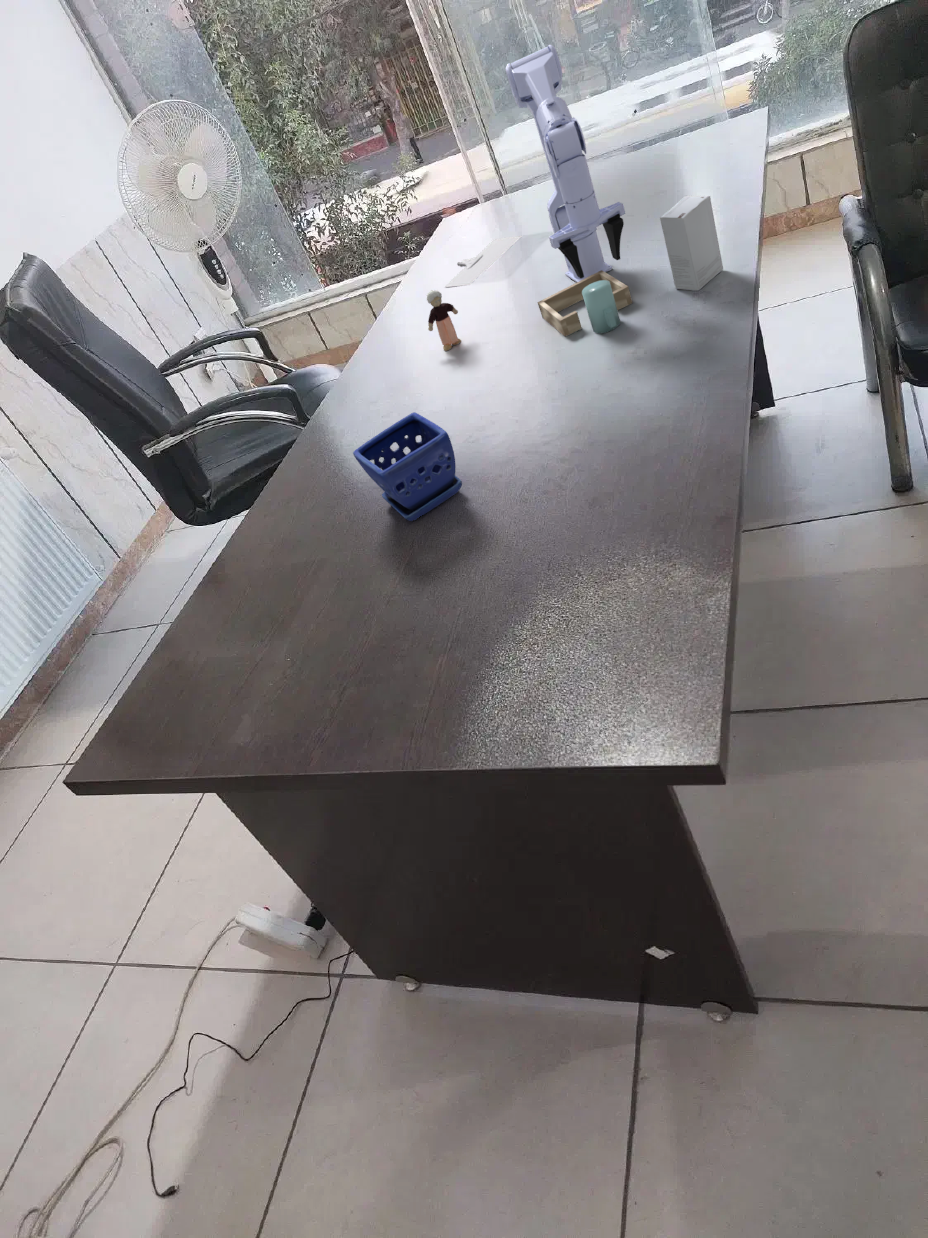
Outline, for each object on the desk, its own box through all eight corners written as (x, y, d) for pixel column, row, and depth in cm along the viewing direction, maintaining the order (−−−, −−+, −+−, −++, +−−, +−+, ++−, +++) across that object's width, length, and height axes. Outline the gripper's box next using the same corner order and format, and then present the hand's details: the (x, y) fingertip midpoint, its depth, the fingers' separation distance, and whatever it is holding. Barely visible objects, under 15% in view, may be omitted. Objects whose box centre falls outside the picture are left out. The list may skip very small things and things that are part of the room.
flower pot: (409, 533, 142) (379, 475, 134) (379, 505, 152) (349, 449, 145) (475, 490, 144) (449, 430, 136) (441, 465, 154) (414, 408, 147)
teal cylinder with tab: (602, 339, 166) (591, 301, 161) (589, 327, 172) (577, 289, 167) (628, 327, 166) (618, 288, 161) (614, 315, 172) (604, 277, 167)
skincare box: (700, 268, 172) (685, 193, 163) (725, 269, 168) (711, 193, 159) (674, 290, 170) (657, 215, 161) (698, 292, 165) (683, 215, 156)
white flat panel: (483, 242, 233) (481, 238, 233) (556, 233, 219) (555, 229, 218) (432, 290, 221) (431, 286, 220) (507, 284, 207) (505, 279, 206)
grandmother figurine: (447, 354, 188) (424, 299, 180) (436, 352, 191) (413, 299, 183) (471, 335, 191) (449, 280, 183) (460, 333, 193) (438, 280, 186)
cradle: (542, 317, 183) (537, 302, 181) (605, 285, 183) (601, 269, 181) (565, 336, 173) (560, 320, 171) (632, 302, 173) (628, 286, 170)
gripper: (550, 218, 154) (572, 290, 162) (624, 181, 153) (641, 255, 162) (537, 211, 159) (559, 280, 168) (608, 175, 159) (626, 246, 167)
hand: (598, 267), depth 165 cm, fingers open, 7 cm apart
